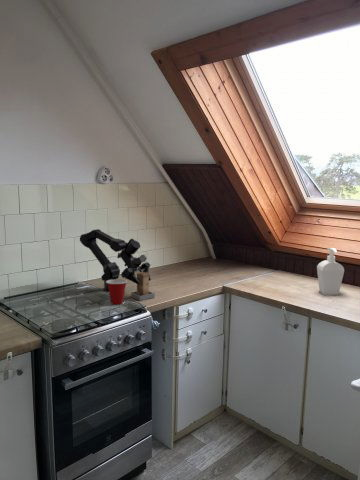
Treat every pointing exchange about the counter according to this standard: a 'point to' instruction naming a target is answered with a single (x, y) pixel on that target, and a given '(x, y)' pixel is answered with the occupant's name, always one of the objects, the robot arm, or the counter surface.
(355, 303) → the counter surface
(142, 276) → the walnut block
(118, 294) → the plastic cup
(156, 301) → the counter surface
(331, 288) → the soap bottle
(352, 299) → the counter surface
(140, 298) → the tray
